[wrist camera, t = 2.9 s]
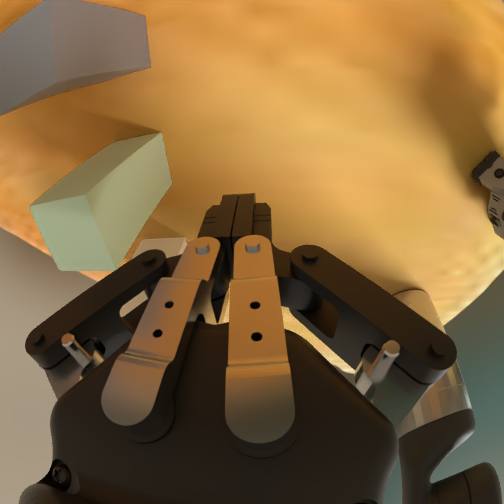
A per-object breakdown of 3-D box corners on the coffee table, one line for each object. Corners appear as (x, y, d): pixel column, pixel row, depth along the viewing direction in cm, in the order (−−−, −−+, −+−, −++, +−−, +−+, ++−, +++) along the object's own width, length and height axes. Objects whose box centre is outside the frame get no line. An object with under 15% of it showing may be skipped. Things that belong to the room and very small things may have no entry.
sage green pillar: (162, 132, 21) (85, 194, 12) (172, 183, 24) (116, 270, 15) (113, 142, 22) (28, 206, 12) (126, 189, 25) (59, 270, 15)
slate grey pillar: (145, 16, 15) (49, -4, 5) (151, 67, 18) (56, 82, 8) (95, 34, 15) (-9, 42, 6) (101, 82, 18) (0, 115, 9)
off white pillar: (185, 237, 28) (149, 333, 19) (194, 273, 31) (169, 367, 22) (142, 239, 28) (96, 327, 19) (155, 273, 31) (121, 360, 22)
